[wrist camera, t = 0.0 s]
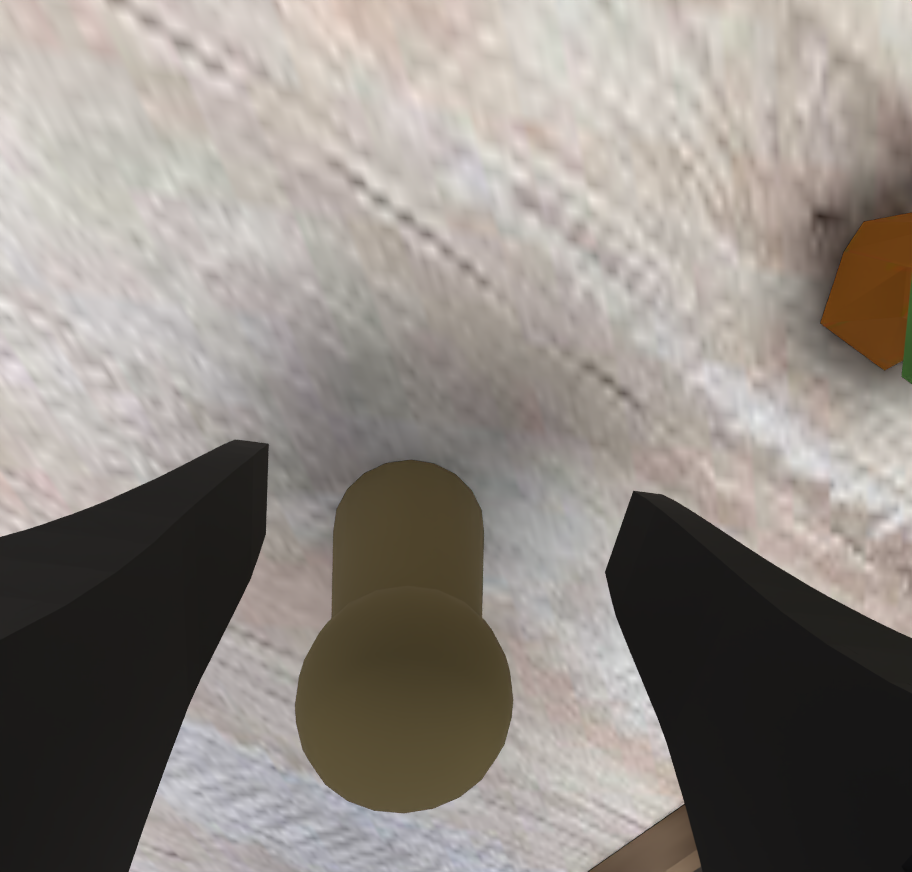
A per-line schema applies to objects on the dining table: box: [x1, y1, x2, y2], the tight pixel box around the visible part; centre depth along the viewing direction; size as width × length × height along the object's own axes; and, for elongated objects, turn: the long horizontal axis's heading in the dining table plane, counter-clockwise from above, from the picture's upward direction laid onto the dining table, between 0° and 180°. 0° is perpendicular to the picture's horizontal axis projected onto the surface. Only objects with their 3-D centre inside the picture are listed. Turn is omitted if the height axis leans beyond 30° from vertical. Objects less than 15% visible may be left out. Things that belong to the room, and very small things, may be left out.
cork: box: [295, 460, 513, 813], centre depth 17 cm, size 6×6×11 cm
